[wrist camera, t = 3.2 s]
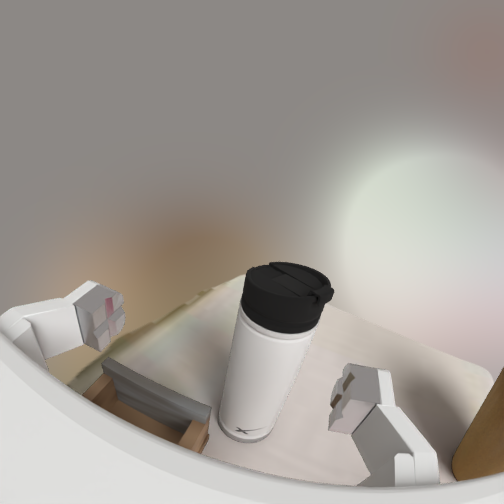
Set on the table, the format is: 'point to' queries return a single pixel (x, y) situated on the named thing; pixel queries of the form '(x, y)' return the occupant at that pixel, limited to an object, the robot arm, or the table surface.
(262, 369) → the travel mug
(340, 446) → the table surface
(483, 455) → the plant pot
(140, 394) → the cradle
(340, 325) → the table surface
